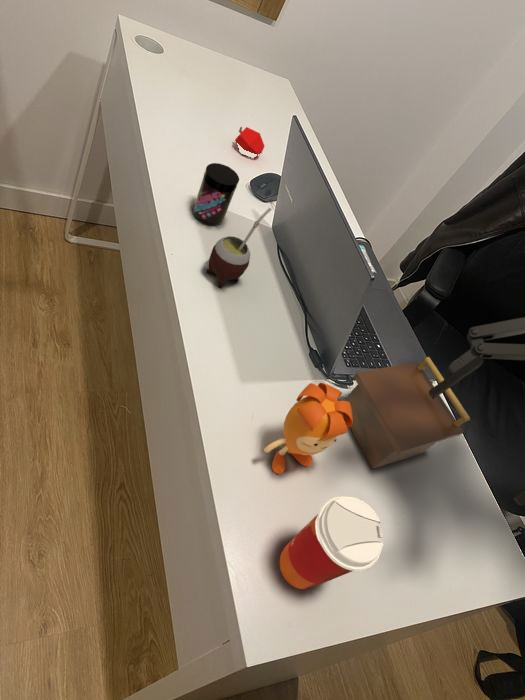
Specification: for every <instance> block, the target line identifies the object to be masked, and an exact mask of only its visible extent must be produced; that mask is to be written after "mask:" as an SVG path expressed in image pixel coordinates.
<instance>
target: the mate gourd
mask: <svg viewBox="0 0 525 700" xmlns="http://www.w3.org/2000/svg"><path fill="white" fill-rule="evenodd" d="M271 211H272V208H271V207H268V208H267V209H266V210H265V211H264V212H263V213H262V214H261V215H260V216H259V217H258V219H257V220H255V221H254V223H253V225H252V228H250V231H249V232H248V234H247V235H246V236H245V238H244V240H243V239H242V238H239V237H237V236H233V235H227V236H224V237H221V238H219V240H218V241H217V242H216V243H215V244H214V246H213V247H212V249H211V253H210V256H209V259H208V268H206V272H205V273H206V274H208V275H209V276H213V277H215V278H219V280H218V284H217V287H218V288H219V289H223V288H224V283H225V281H227V282H231V283H235V284H238V283H239V279H240V278H241V277H242V276H243V274H244V273H245V271H247V269H248V267H249V265H250V260H251V251H250V248H249V245H248V244H247V242H248V241H249V239H250V238H251V236H252V234H253V233H254V231H255V230H256V228H258V227H259V225H260V223H261V221H262V220H263V219H264V218H265V217H266V216H267V215H268V214H269V213H270V212H271Z"/></svg>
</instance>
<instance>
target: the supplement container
mask: <svg viewBox="0 0 525 700" xmlns="http://www.w3.org/2000/svg"><path fill="white" fill-rule="evenodd" d="M239 182H240V177H239V174H238V173H237V172H236V171H235V170H234V169H233V168H231V167H229V166H228V165H225V164H222V163H217V162H212V163H209V164H207V166H206V167H205V170H204V173H203V177H202V180H201V183H200V186H199V190H198V193H197V197H196V199H195V202H194V205H193V208H192V209H193V211H192V212H193V215H194V216H195V218H196V219H197V220H198V221H199V222H200V223H202V224H204V225H207V226H218V225H220V224H222V223H223V222H224V220H225V217H226V215H227V213H228V210H229V207H230V204H231V202H232V199H233V197H234V194H235V192H236V189H237V187H238V184H239Z"/></svg>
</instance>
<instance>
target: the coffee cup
mask: <svg viewBox="0 0 525 700" xmlns="http://www.w3.org/2000/svg"><path fill="white" fill-rule="evenodd" d="M383 539H384V534H383V528H382V526H381V520H380V517H379V516H378V514H377V513H376V511H375V510H374V509H373V508H372V507H371V506H370V505H369V504H368V503H366V502H365V501H363V500H362V499H360V498H357V497H354V496H342V495H341V496H334V497H331V498H330V499H327V500H326V501H325V502H324V503H323V504H322V505H321V507H320V508H319V510H318V513H316V515H315V516H314V517H313V518H312V519H311V520H310V521H309V522H308V523H307V524H306V525H305V526H304V527H303V528H302V529H301V530H299V532H298V533H297V534H296V535H295V536H294V537H293V538H292V539H290V541H289V542H288V543H287V544H286V545H285V546H284V547H283V549H282V551H281V553H280V556H279V569H280V573H281V575H282V577H283V578H284V580H285V581H286V582H287V583H288V584H289V585H290V586H291V587H293V588H295V589H299V590H307V589H311V588H314V587H316V586H320V585H323V584H324V583H327V582H330V581H332V580H335V579H337V578H339V577H342V576H344V575H347V574H350V573H352V572H361V571H365V570H368V569H370V568H371V567H373V566H374V565H375V564H376V563H377V561H378V560H379V558H380V556H381V552H382V550H383V547H384V541H383Z"/></svg>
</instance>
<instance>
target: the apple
mask: <svg viewBox="0 0 525 700" xmlns="http://www.w3.org/2000/svg"><path fill="white" fill-rule="evenodd" d="M238 133H239V135H238V136H236V138H235V139H234V142H235V141H236V142H237V143H238V144H239V145H240V146H241V147H242V148H243V149H244V150H246V151H249V152H251V153H254V154H257V155H258V154H260V153H261V154H262V153H263V151H264V149H265V146H266V145H265V143H264V141H263V138H262V135H261V133H260V132H259V131H256V130H254V129H252V128H250V127H248V126H246V127H245V128H244V129H243V127H242V126H240V127H239V130H238ZM236 142H235V143H236Z"/></svg>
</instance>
